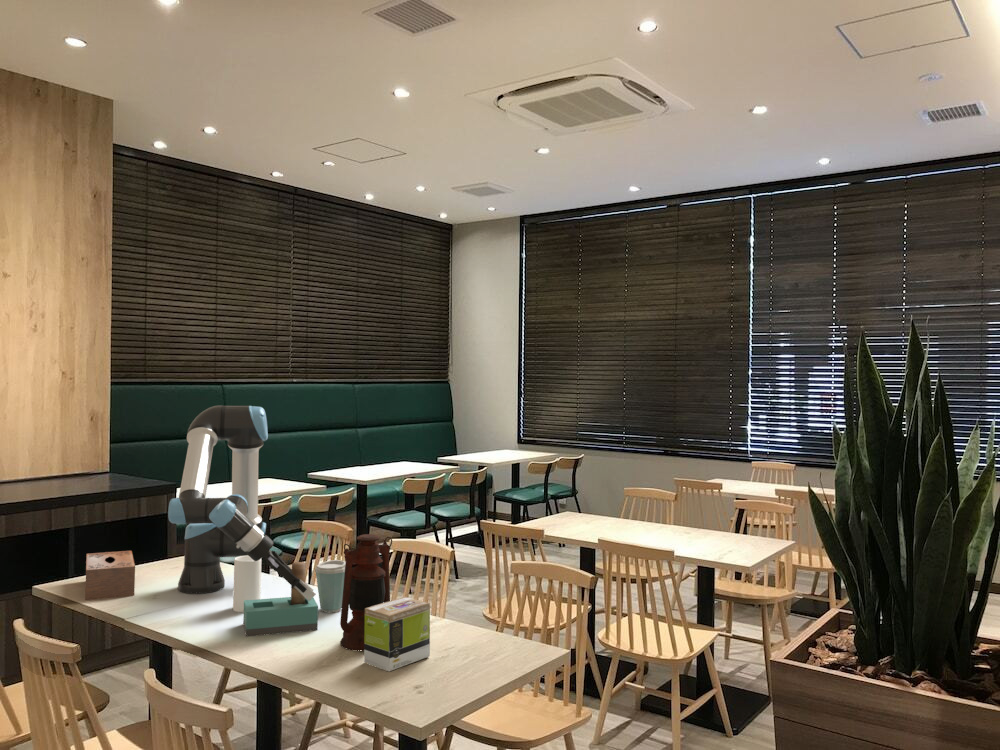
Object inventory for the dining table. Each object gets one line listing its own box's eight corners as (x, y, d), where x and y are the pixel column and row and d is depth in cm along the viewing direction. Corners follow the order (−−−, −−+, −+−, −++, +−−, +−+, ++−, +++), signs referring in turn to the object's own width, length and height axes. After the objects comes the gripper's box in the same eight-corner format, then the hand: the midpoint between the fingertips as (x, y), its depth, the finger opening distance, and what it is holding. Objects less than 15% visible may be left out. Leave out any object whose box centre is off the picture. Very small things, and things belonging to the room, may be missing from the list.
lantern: (355, 656, 209) (358, 544, 209) (325, 643, 219) (328, 536, 219) (405, 641, 222) (408, 535, 222) (374, 630, 231) (377, 528, 232)
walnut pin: (289, 612, 235) (291, 562, 235) (303, 611, 236) (304, 561, 237) (291, 616, 231) (292, 565, 231) (305, 615, 233) (306, 564, 233)
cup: (264, 605, 253) (265, 555, 253) (253, 612, 245) (255, 561, 245) (239, 604, 254) (241, 554, 254) (228, 611, 246) (229, 560, 246)
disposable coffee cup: (328, 616, 243) (330, 568, 243) (306, 610, 249) (307, 562, 249) (354, 609, 251) (355, 562, 251) (332, 603, 258) (333, 557, 258)
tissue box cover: (85, 582, 276) (86, 553, 277) (130, 578, 283) (131, 550, 283) (85, 601, 254) (86, 570, 254) (134, 596, 260) (135, 566, 260)
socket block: (243, 623, 234) (243, 600, 234) (311, 618, 241) (312, 595, 241) (246, 636, 223) (246, 611, 223) (317, 630, 230) (318, 606, 230)
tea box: (404, 648, 216) (405, 595, 216) (430, 657, 210) (431, 602, 210) (362, 663, 205) (363, 606, 205) (388, 673, 198) (390, 614, 198)
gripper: (243, 546, 236) (298, 597, 242) (247, 559, 220) (305, 613, 226) (262, 528, 238) (316, 578, 244) (267, 539, 222) (325, 593, 228)
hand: (311, 595), depth 235 cm, fingers closed on walnut pin, 4 cm apart
